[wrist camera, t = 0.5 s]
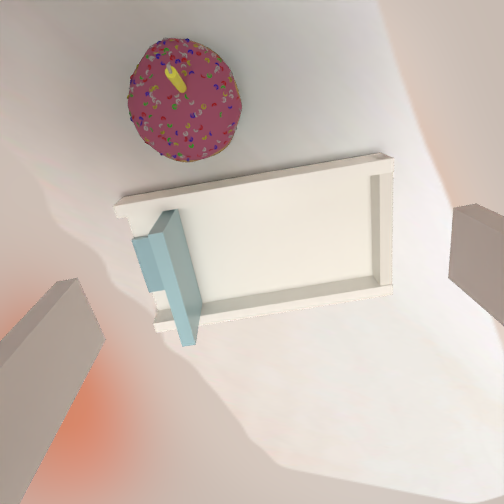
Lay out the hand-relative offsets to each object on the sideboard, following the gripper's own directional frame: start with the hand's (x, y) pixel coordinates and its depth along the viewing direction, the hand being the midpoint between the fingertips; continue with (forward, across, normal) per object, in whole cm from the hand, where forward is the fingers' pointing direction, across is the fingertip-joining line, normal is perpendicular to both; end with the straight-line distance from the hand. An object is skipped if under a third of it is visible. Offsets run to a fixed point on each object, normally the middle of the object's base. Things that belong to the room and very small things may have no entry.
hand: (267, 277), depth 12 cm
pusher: (+21, -10, -8) cm, 25 cm away
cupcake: (+23, -4, +6) cm, 24 cm away
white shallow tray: (+22, 0, -8) cm, 24 cm away
